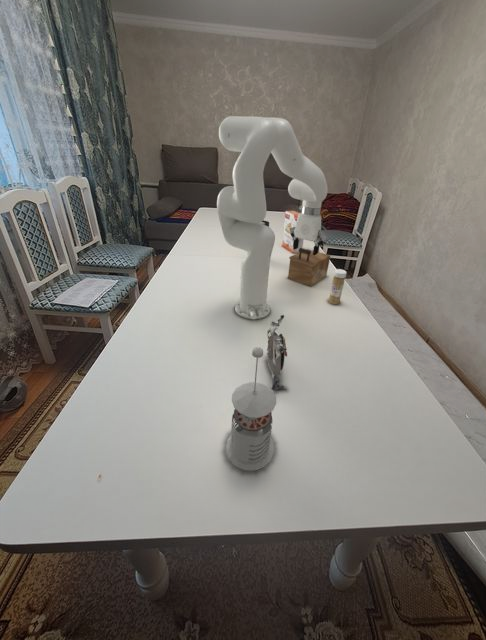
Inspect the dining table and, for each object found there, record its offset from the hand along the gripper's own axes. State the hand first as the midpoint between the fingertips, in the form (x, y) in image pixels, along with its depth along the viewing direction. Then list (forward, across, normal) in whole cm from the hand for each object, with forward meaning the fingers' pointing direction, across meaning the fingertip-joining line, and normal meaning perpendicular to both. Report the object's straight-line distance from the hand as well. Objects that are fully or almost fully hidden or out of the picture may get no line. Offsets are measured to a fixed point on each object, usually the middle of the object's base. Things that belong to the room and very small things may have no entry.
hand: (305, 251), depth 126 cm
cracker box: (+15, -27, +36) cm, 47 cm away
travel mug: (+14, -29, +7) cm, 33 cm away
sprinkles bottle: (+14, +20, -8) cm, 26 cm away
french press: (+13, +33, -78) cm, 86 cm away
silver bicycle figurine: (+14, +24, -56) cm, 63 cm away
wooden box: (+14, 0, +6) cm, 16 cm away
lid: (+4, 0, +6) cm, 7 cm away
